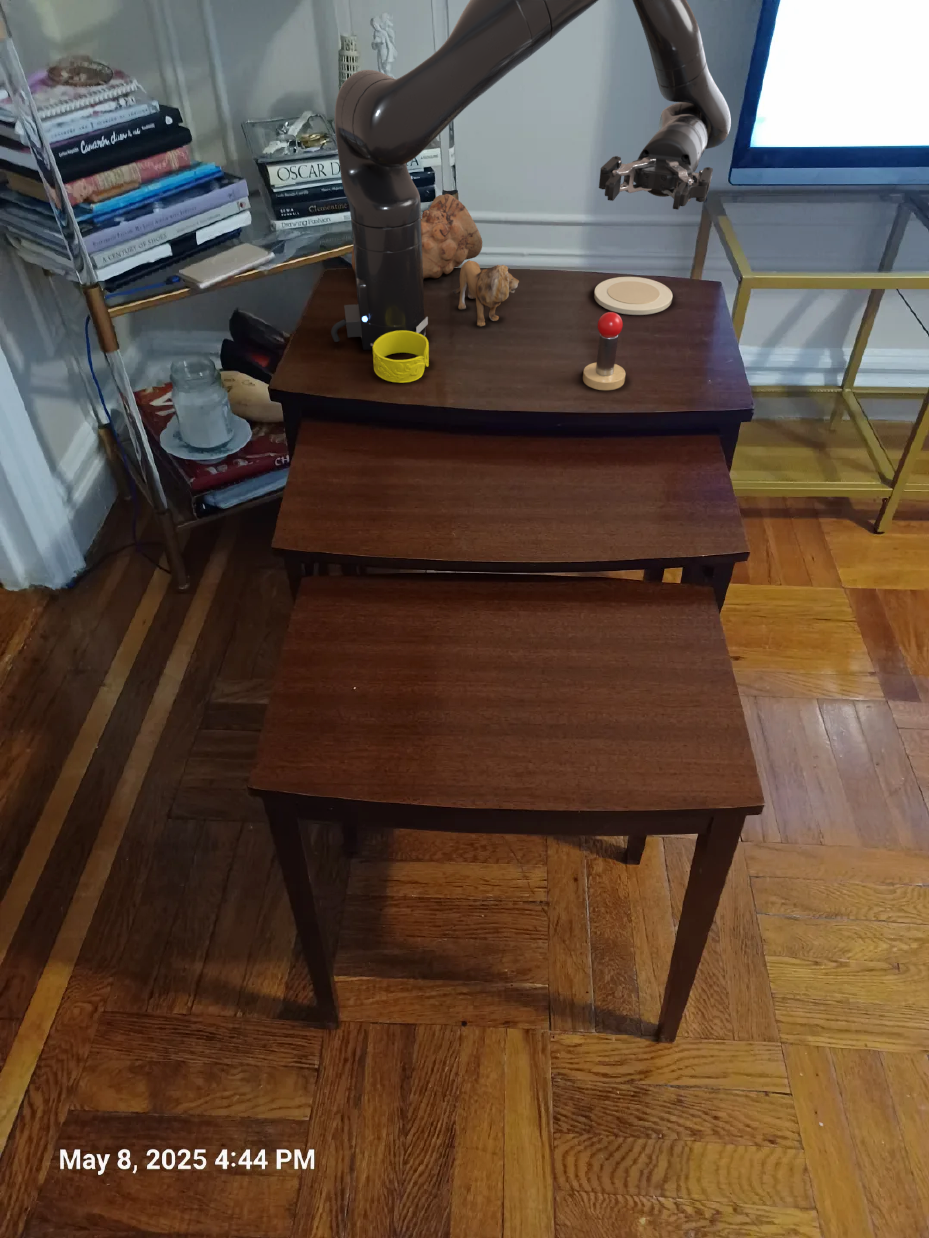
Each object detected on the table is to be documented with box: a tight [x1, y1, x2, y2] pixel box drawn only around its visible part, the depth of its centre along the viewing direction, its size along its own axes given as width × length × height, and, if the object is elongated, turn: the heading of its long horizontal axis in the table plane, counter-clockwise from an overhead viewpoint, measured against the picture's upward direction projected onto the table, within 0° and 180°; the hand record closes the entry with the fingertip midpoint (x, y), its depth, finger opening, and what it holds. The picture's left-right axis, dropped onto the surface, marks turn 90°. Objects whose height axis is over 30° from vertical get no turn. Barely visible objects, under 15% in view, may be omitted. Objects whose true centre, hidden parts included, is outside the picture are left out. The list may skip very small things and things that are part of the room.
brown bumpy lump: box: [351, 193, 483, 280], centre depth 141 cm, size 19×11×15 cm
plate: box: [593, 276, 674, 316], centre depth 137 cm, size 12×12×1 cm
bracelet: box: [372, 330, 430, 384], centre depth 120 cm, size 7×8×3 cm
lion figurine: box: [452, 259, 520, 327], centre depth 130 cm, size 15×5×9 cm, turn 33°
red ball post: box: [582, 311, 626, 391], centre depth 116 cm, size 6×6×9 cm
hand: (643, 197), depth 113 cm, fingers open, 8 cm apart
